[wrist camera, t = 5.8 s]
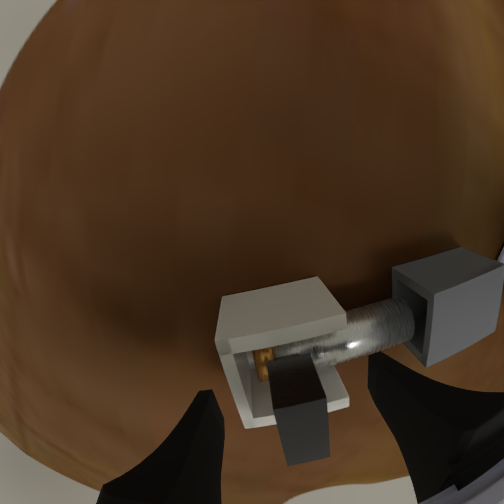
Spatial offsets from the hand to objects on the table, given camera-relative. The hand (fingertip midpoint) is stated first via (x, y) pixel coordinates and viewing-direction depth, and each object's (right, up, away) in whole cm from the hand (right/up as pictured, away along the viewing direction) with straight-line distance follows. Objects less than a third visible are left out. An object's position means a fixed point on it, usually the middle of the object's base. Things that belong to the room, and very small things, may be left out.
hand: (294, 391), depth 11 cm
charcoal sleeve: (+11, +4, +5) cm, 12 cm away
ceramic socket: (0, +1, +6) cm, 6 cm away
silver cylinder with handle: (+3, +2, +5) cm, 6 cm away
